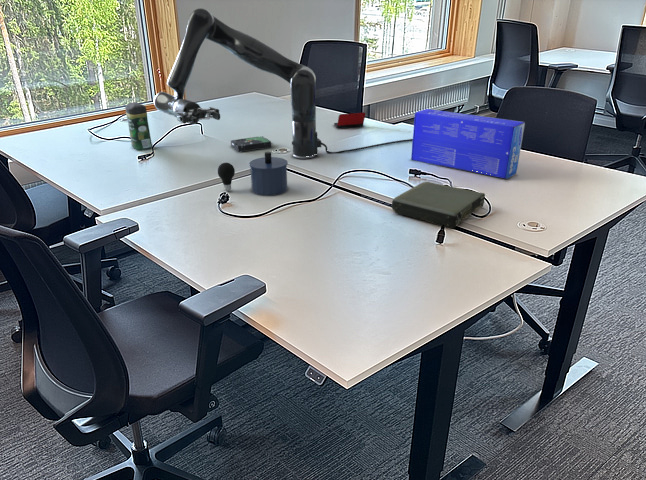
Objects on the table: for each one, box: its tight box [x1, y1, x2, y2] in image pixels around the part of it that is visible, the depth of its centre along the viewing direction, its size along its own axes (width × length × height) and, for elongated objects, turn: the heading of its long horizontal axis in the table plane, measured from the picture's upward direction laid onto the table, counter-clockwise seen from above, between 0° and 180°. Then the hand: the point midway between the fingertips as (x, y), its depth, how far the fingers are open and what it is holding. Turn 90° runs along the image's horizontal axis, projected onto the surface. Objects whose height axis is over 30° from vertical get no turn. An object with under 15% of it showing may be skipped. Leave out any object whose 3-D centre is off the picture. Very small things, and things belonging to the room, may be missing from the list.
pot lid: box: [248, 151, 289, 170], centre depth 196 cm, size 13×13×5 cm
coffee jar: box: [125, 101, 153, 151], centre depth 247 cm, size 10×8×19 cm
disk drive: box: [230, 135, 272, 153], centre depth 246 cm, size 10×3×15 cm
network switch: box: [391, 181, 486, 230], centre depth 178 cm, size 23×24×5 cm
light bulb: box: [217, 161, 236, 192], centre depth 198 cm, size 6×6×10 cm
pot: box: [250, 164, 288, 197], centre depth 199 cm, size 12×12×9 cm
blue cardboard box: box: [410, 108, 526, 180], centre depth 211 cm, size 39×8×18 cm, turn 47°
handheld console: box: [333, 112, 366, 130], centre depth 269 cm, size 12×11×7 cm
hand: (207, 118), depth 198 cm, fingers open, 8 cm apart
